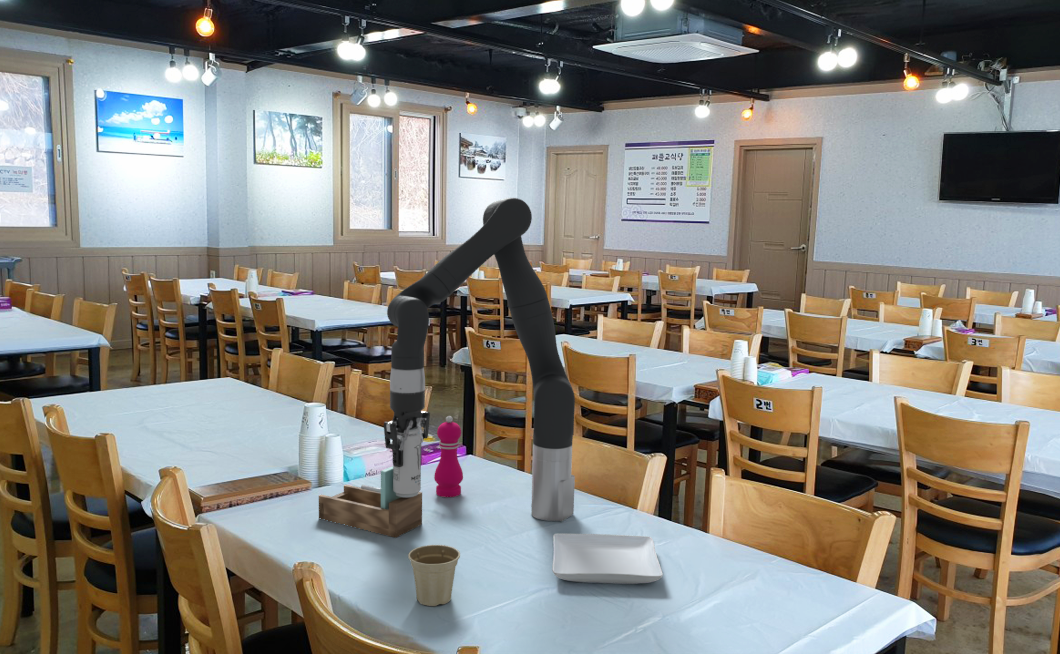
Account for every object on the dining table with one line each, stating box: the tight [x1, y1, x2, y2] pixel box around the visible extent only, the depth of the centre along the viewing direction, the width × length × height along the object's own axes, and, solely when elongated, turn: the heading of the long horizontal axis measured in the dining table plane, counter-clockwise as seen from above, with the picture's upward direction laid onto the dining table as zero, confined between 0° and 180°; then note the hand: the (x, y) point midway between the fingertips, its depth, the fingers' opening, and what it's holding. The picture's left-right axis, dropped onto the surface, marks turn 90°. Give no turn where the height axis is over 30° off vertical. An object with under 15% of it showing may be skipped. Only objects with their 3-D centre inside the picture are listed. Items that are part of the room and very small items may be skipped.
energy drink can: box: [392, 427, 422, 497], centre depth 188 cm, size 6×6×15 cm
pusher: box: [360, 465, 401, 510], centre depth 193 cm, size 9×7×12 cm
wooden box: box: [318, 484, 423, 539], centre depth 194 cm, size 22×10×8 cm, turn 62°
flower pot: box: [407, 544, 461, 607], centre depth 156 cm, size 9×9×9 cm
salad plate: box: [551, 533, 664, 585], centre depth 173 cm, size 21×21×3 cm
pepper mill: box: [433, 415, 464, 498], centre depth 214 cm, size 7×7×20 cm
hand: (407, 462), depth 188 cm, fingers closed on energy drink can, 6 cm apart
